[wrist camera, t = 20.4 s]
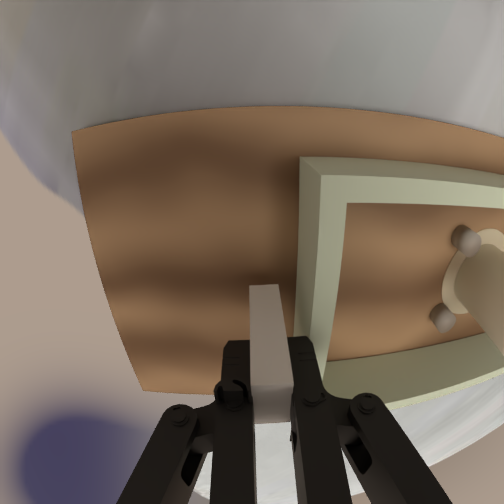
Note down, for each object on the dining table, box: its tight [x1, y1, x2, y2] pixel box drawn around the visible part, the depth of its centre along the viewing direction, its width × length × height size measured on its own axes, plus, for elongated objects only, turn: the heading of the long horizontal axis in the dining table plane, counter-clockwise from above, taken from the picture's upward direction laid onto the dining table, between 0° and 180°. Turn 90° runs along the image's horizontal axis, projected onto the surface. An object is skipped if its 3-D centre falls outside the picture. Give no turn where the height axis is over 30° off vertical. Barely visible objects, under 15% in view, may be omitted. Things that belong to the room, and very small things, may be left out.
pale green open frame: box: [293, 157, 504, 410], centre depth 15 cm, size 15×19×4 cm
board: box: [72, 106, 504, 395], centre depth 17 cm, size 20×32×3 cm, turn 92°
